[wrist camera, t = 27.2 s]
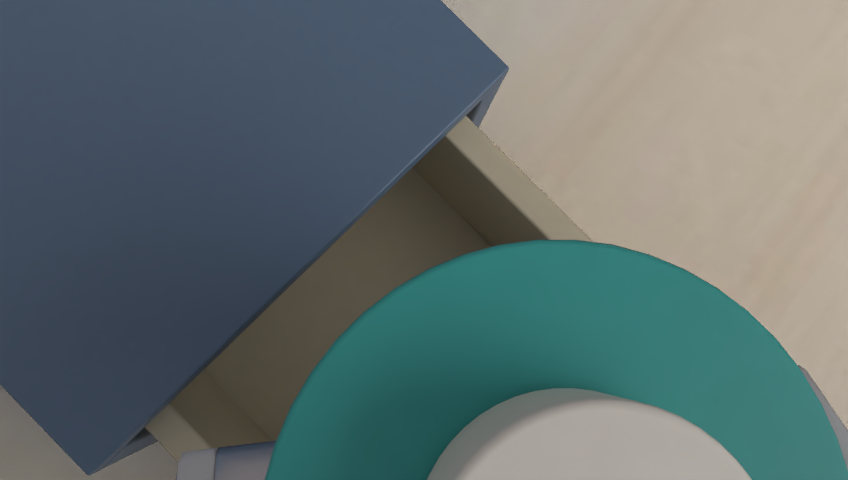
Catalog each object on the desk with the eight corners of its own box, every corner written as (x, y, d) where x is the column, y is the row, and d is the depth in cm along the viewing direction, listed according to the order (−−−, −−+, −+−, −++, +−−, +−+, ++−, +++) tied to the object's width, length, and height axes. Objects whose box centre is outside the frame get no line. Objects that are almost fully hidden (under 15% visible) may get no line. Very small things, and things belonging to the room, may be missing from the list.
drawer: (756, 458, 28) (904, 507, 20) (505, 739, 26) (560, 908, 19) (338, 42, 29) (325, -66, 21) (70, 291, 27) (-51, 274, 19)
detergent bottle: (607, 558, 18) (1024, 957, 6) (330, 583, 17) (242, 1056, 6) (582, 284, 18) (918, 195, 7) (315, 301, 18) (211, 240, 7)
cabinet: (465, 154, 29) (510, 67, 20) (185, 427, 28) (87, 477, 18) (147, -164, 30) (41, -395, 20) (-146, 85, 28) (-410, -41, 19)
